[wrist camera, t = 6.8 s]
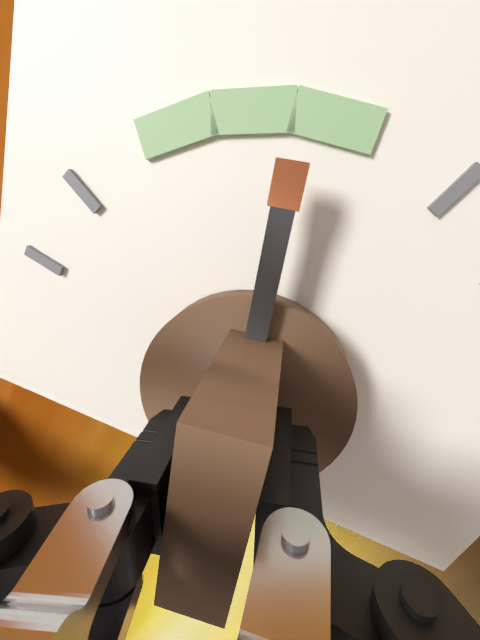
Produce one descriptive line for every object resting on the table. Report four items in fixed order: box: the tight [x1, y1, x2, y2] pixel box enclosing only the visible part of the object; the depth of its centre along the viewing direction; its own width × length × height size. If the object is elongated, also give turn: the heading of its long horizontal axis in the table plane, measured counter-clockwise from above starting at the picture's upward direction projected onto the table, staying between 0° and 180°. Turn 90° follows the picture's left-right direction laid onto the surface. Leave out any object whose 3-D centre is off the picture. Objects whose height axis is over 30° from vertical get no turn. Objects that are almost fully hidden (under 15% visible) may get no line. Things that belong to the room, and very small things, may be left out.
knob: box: [140, 157, 358, 628], centre depth 9 cm, size 12×8×6 cm, turn 170°
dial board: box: [0, 0, 480, 571], centre depth 12 cm, size 18×23×2 cm
